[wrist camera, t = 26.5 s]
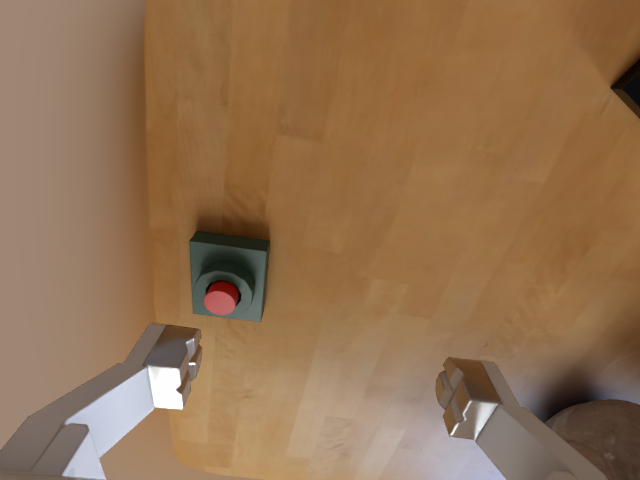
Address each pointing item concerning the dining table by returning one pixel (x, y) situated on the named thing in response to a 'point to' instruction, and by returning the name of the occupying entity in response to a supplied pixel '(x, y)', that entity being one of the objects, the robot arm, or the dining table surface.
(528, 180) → the dining table surface
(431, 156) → the dining table surface
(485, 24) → the dining table surface
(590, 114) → the dining table surface
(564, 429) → the clay pot
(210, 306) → the button
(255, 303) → the button box
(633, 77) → the bracket
